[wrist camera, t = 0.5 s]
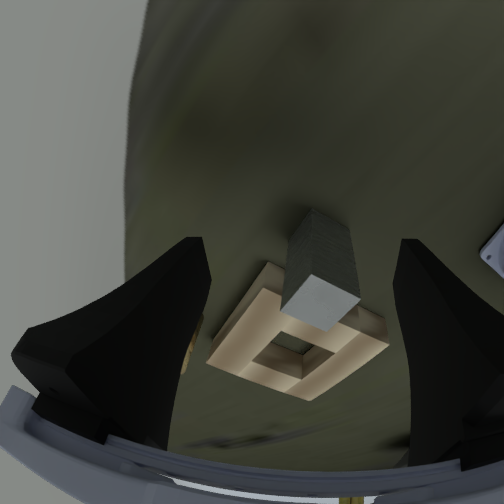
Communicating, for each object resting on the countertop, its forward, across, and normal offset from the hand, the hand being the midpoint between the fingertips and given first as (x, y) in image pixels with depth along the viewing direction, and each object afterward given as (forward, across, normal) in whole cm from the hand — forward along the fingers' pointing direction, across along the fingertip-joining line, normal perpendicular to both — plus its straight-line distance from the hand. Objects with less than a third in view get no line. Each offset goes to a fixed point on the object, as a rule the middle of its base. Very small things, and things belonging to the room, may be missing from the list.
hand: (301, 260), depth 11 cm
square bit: (+10, -1, +5) cm, 12 cm away
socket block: (+10, +1, +16) cm, 19 cm away
